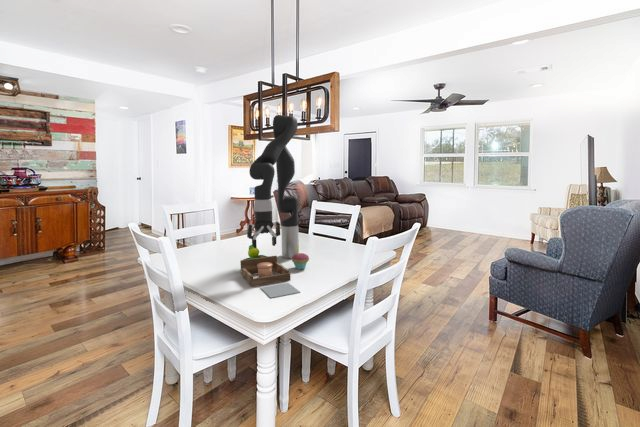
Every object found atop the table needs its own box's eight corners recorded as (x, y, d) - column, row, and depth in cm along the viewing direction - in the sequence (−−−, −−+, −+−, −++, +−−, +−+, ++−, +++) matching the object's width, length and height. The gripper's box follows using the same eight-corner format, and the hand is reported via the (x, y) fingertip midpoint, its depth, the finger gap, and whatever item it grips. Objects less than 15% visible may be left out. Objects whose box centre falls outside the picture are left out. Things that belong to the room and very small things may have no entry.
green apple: (252, 272, 155) (251, 249, 154) (241, 269, 161) (240, 246, 160) (271, 267, 164) (270, 244, 162) (260, 264, 170) (259, 242, 168)
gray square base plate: (260, 288, 135) (260, 287, 135) (288, 283, 140) (288, 282, 140) (270, 298, 124) (270, 297, 124) (300, 292, 130) (300, 291, 130)
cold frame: (241, 275, 152) (240, 260, 151) (276, 269, 159) (276, 255, 158) (251, 286, 137) (251, 270, 136) (290, 280, 145) (290, 264, 144)
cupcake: (288, 269, 160) (288, 244, 159) (296, 264, 168) (295, 241, 166) (305, 271, 157) (304, 246, 155) (312, 266, 165) (311, 242, 163)
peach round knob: (255, 276, 149) (255, 263, 149) (269, 274, 152) (269, 261, 152) (260, 281, 144) (259, 267, 143) (274, 278, 147) (274, 265, 146)
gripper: (275, 208, 151) (276, 243, 153) (244, 210, 144) (246, 247, 146) (282, 209, 144) (282, 246, 146) (249, 211, 137) (251, 250, 139)
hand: (264, 246), depth 146 cm, fingers open, 8 cm apart
